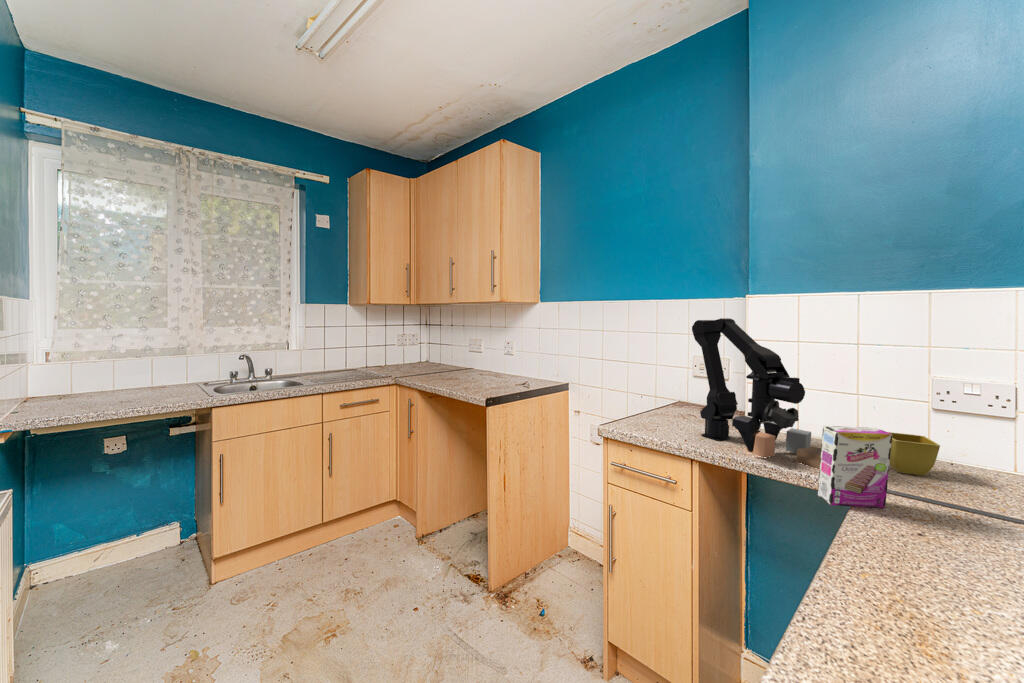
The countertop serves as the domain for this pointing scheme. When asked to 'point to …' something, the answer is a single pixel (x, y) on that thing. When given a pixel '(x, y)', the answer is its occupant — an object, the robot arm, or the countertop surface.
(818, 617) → the countertop surface
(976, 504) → the countertop surface
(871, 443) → the candy bar box
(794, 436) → the grey block
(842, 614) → the countertop surface
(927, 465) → the flower pot
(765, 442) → the terracotta block
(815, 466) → the base block
